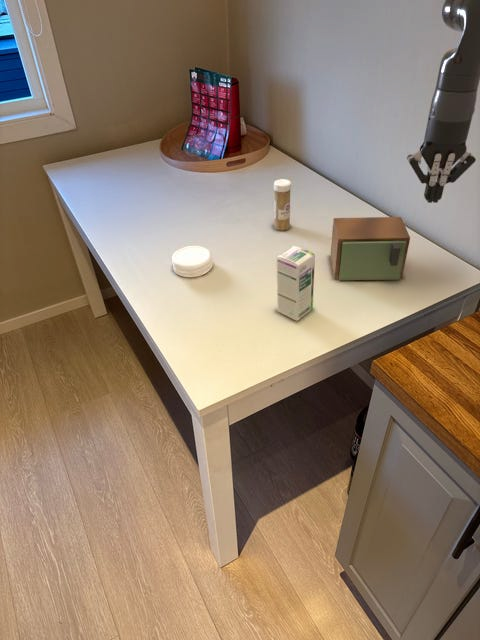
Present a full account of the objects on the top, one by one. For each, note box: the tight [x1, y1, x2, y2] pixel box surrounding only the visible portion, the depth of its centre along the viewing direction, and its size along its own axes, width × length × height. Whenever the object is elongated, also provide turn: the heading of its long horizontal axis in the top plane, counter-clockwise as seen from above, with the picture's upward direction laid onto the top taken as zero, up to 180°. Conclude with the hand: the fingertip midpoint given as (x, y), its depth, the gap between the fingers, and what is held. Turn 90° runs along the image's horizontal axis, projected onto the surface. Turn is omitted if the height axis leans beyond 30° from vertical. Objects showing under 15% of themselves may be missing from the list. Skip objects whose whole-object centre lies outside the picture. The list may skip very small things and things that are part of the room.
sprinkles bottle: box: [273, 178, 292, 231], centre depth 133 cm, size 5×5×14 cm
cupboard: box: [329, 216, 411, 280], centre depth 116 cm, size 16×10×11 cm, turn 87°
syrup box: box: [276, 245, 316, 322], centre depth 103 cm, size 6×6×14 cm
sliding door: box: [338, 241, 406, 281], centre depth 111 cm, size 14×3×10 cm, turn 87°
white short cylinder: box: [171, 245, 213, 278], centre depth 122 cm, size 10×10×4 cm
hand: (431, 200), depth 100 cm, fingers closed
